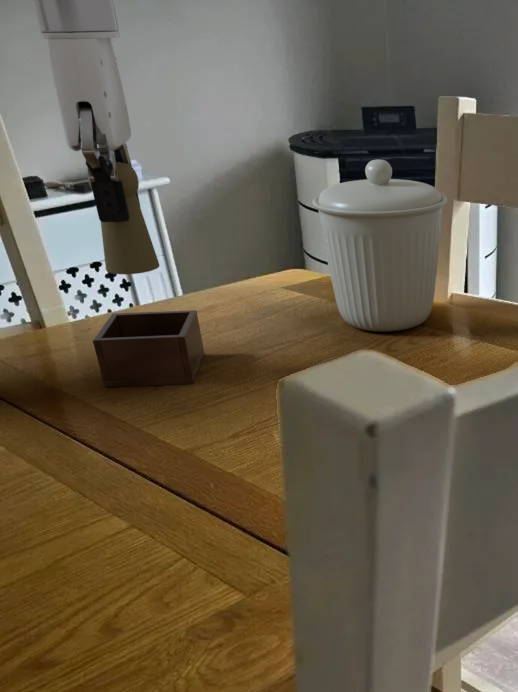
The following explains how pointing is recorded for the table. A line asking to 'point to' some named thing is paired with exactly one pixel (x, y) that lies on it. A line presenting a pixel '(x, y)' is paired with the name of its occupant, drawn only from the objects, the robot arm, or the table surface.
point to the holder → (149, 348)
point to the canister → (382, 248)
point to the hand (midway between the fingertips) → (120, 213)
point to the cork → (128, 233)
